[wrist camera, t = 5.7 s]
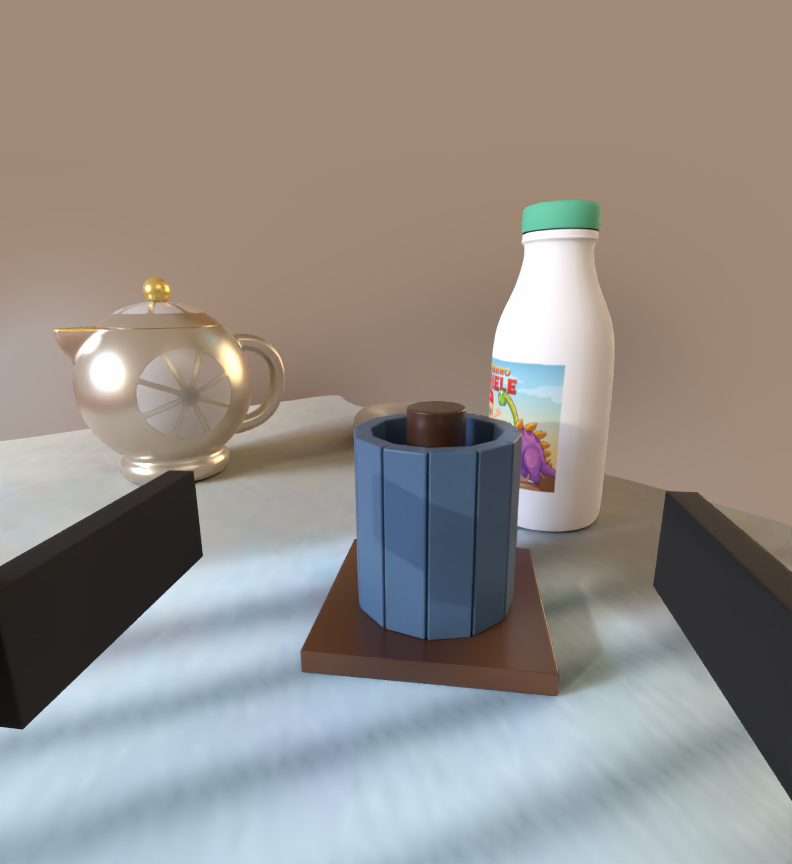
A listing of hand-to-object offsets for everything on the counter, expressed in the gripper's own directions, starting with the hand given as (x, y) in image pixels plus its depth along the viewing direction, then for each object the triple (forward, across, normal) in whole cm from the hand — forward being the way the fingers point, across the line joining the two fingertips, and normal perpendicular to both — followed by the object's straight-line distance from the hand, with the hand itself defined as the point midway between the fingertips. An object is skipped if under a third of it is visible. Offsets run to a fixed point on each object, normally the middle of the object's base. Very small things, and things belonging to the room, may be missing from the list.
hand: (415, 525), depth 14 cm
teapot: (+28, -22, -9) cm, 37 cm away
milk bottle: (+22, +7, -8) cm, 24 cm away
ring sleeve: (+9, 0, -7) cm, 11 cm away
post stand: (+9, 0, -8) cm, 12 cm away
